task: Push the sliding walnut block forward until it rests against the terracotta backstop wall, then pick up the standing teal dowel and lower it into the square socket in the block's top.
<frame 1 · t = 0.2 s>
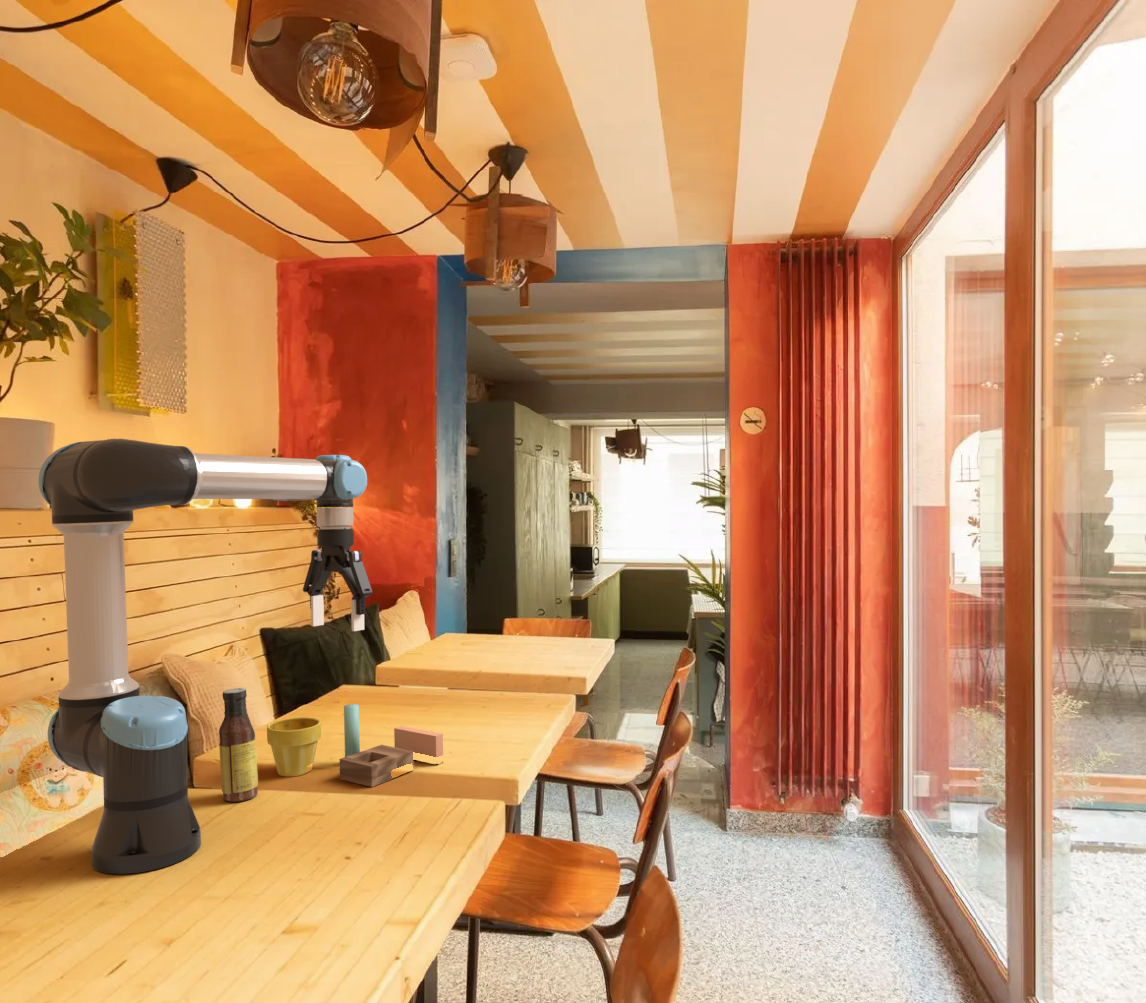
hand: (337, 628, 177), 27 cm above the table, fingers open, 13 cm apart
block: (376, 765, 165), point 2 cm above the table, slide at 0.0 cm
wall: (418, 759, 174), on the table
plant pot: (295, 772, 168), on the table
sauce bottle: (239, 798, 154), on the table
dowel: (352, 763, 172), on the table
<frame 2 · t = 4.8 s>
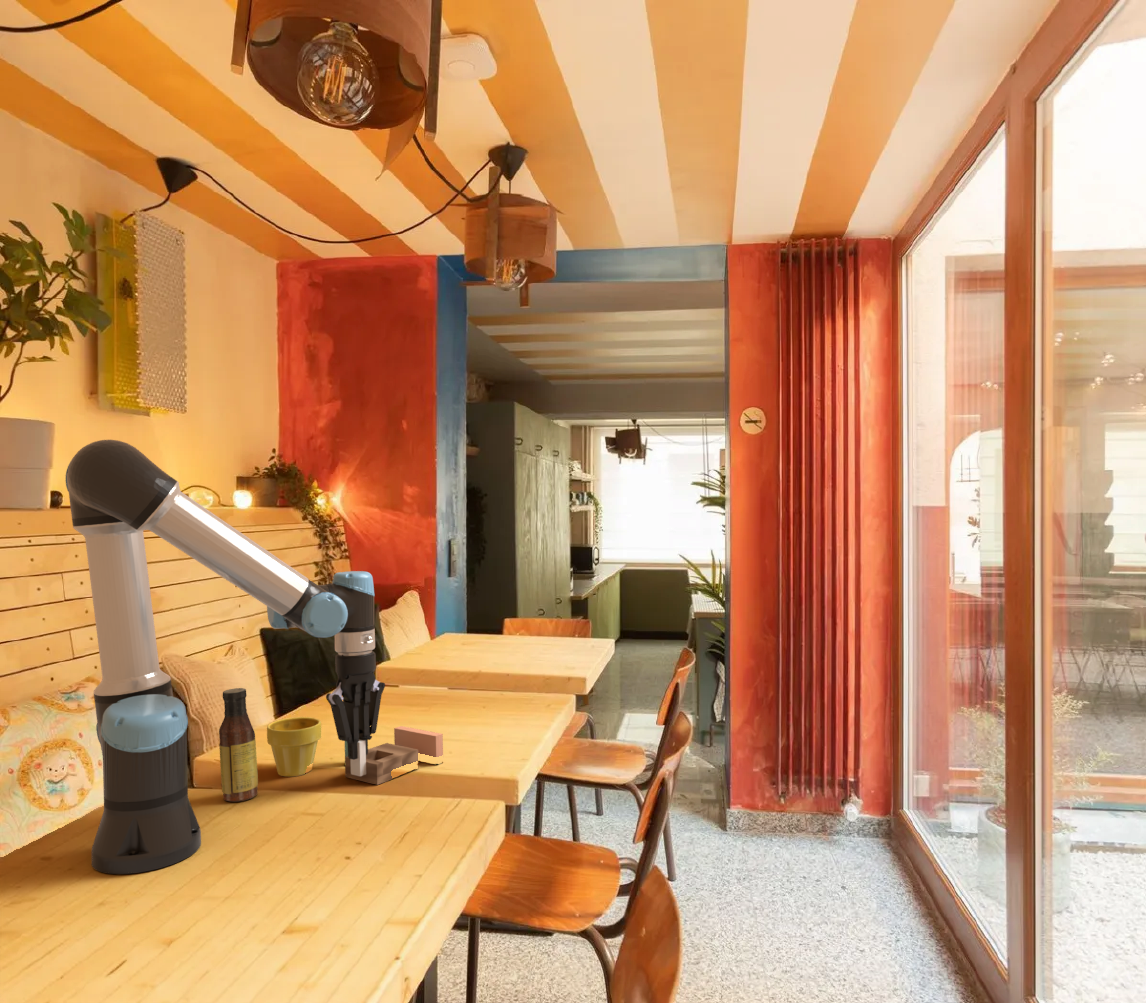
hand: (358, 774, 160), 2 cm above the table, fingers closed
block: (382, 763, 166), point 2 cm above the table, slide at 1.4 cm, touching gripper
everything else where it was.
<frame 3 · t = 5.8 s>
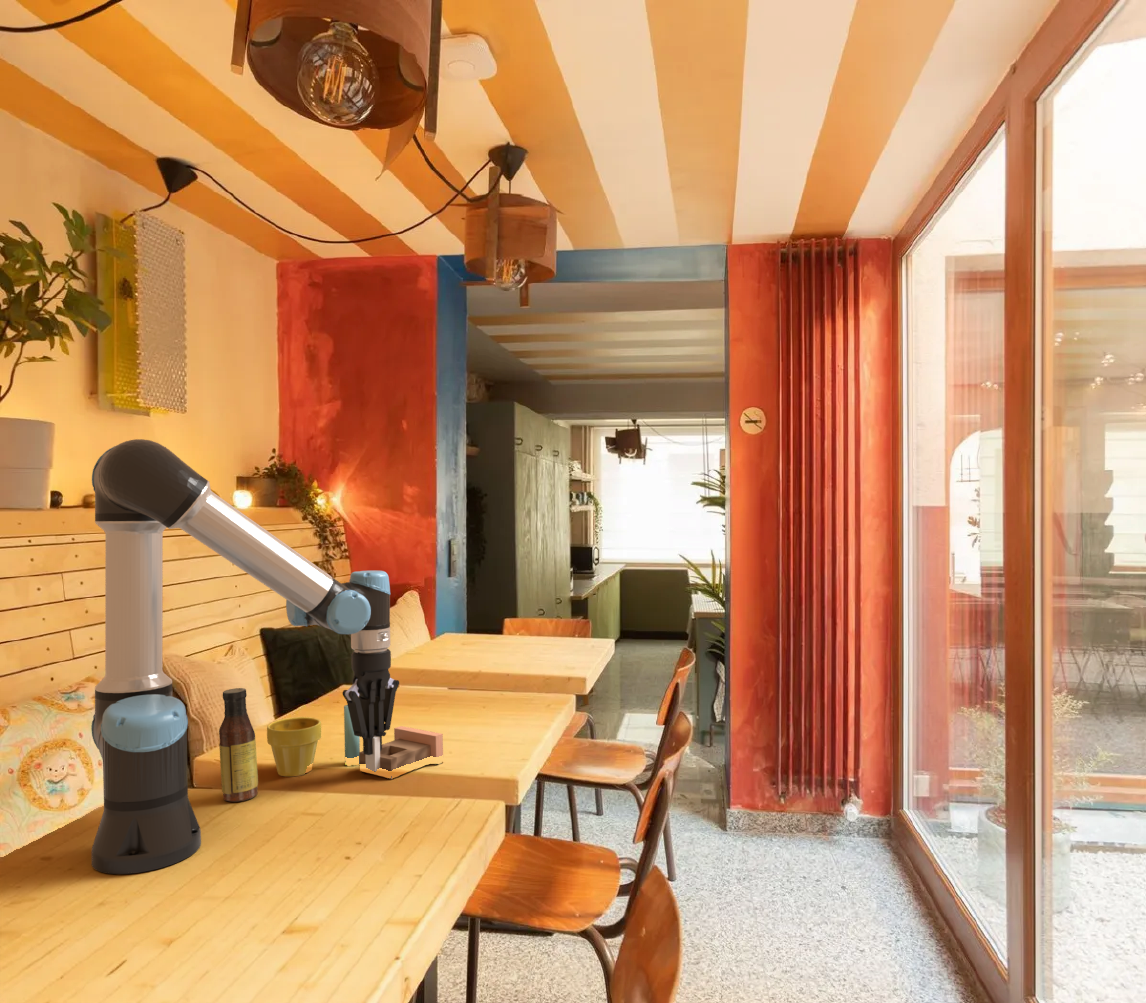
hand: (373, 769, 164), 1 cm above the table, fingers closed
block: (395, 758, 169), point 2 cm above the table, slide at 5.0 cm, touching gripper, wall
everything else where it was.
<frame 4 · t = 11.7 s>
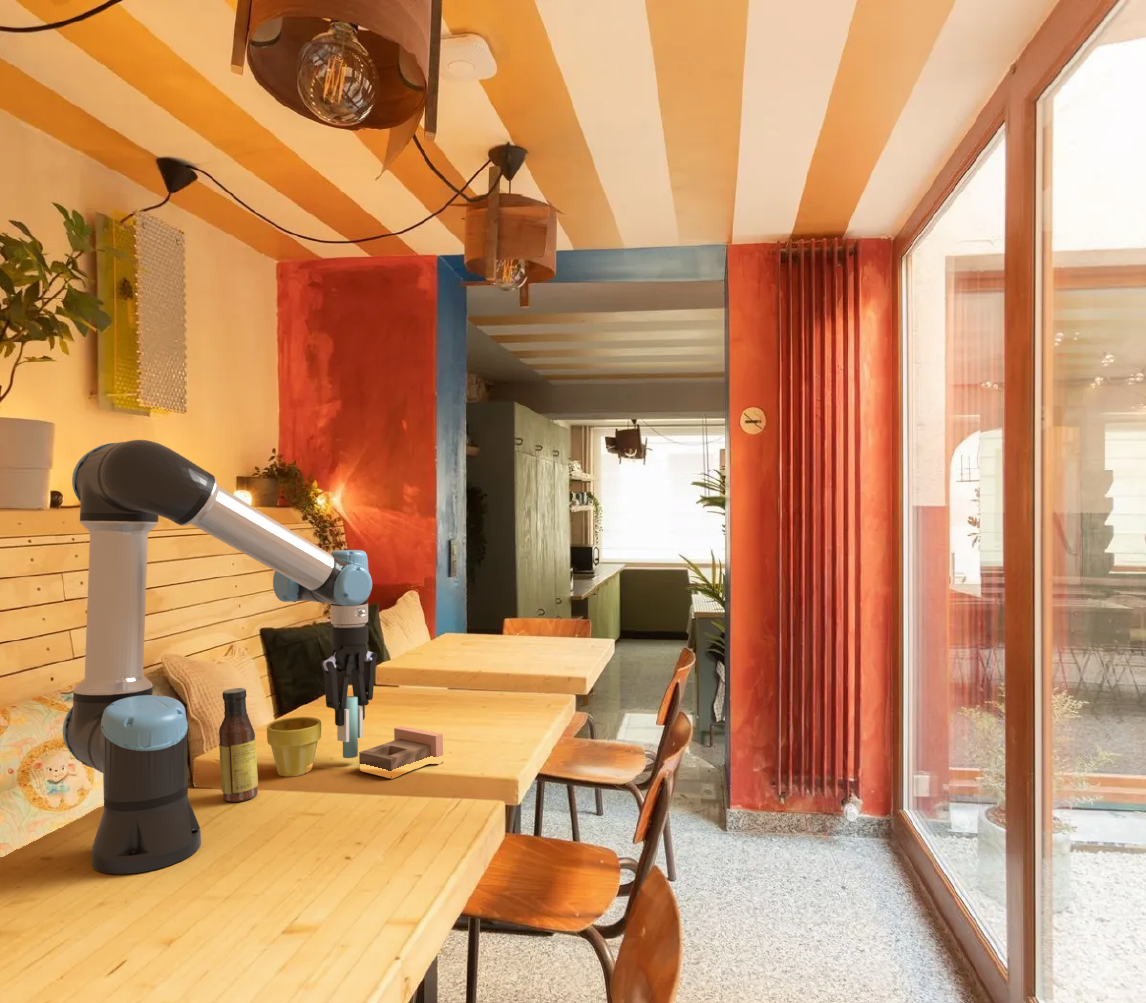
hand: (350, 738, 172), 5 cm above the table, fingers closed on dowel, 3 cm apart
block: (395, 758, 169), point 2 cm above the table, slide at 5.0 cm, touching wall
dowel: (350, 756, 172), point 2 cm above the table, touching gripper
everything else where it was.
when the fingers open (6 cm above the table, at t = 16.3 s): dowel stays where it is, resting on block.
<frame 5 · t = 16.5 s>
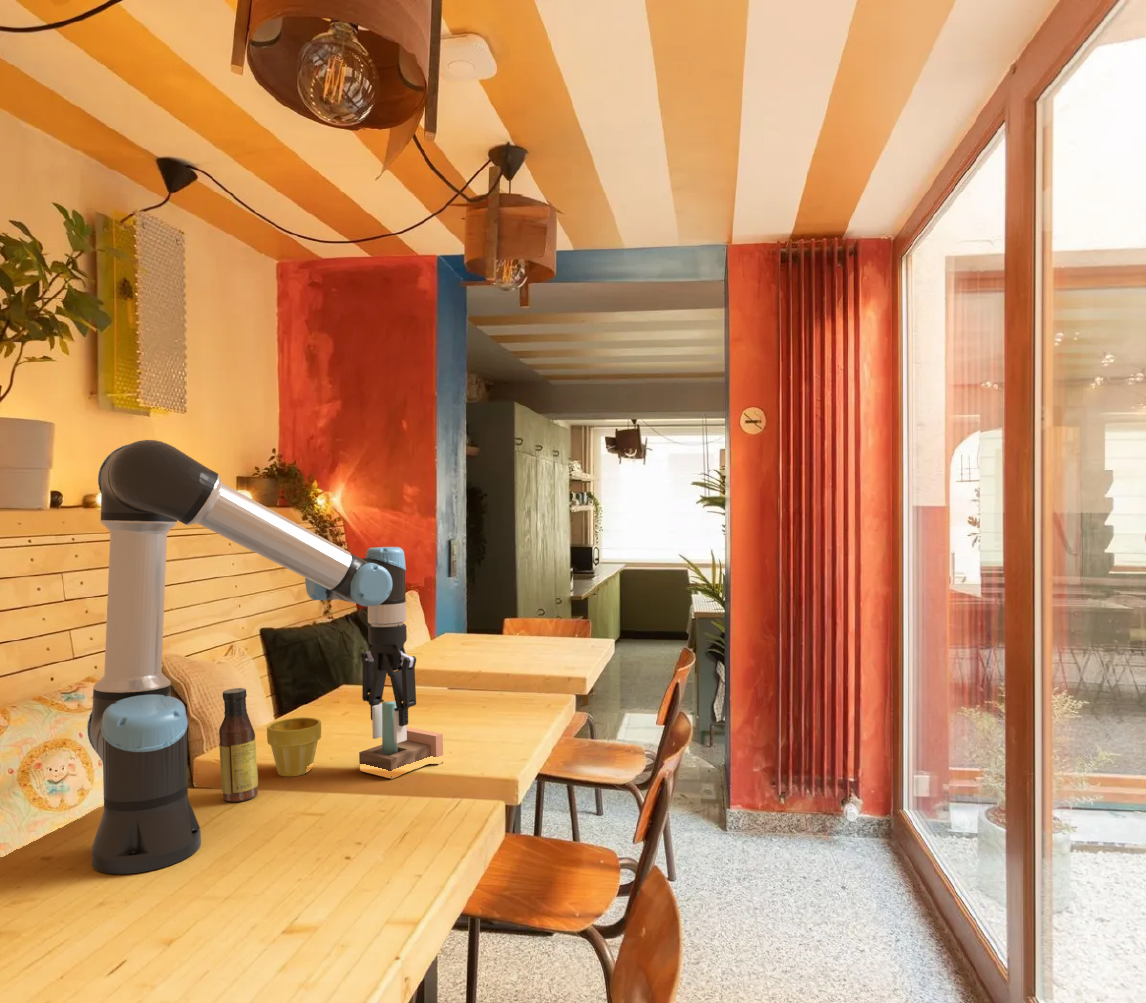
hand: (389, 739, 167), 6 cm above the table, fingers open, 5 cm apart
block: (395, 758, 169), point 2 cm above the table, slide at 5.0 cm, touching dowel, wall
dowel: (389, 762, 168), point 2 cm above the table, touching block
everything else where it was.
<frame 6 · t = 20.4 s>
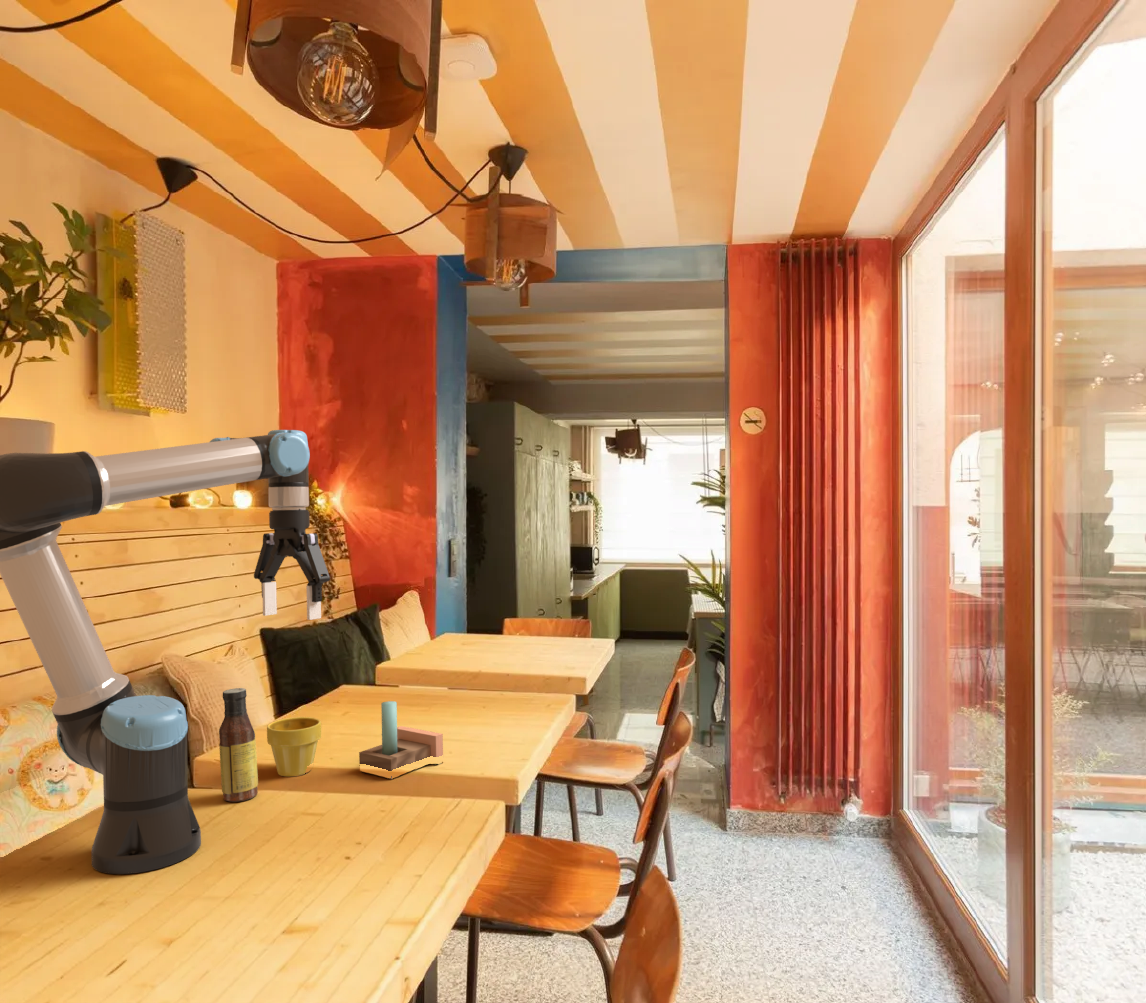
hand: (291, 617, 164), 32 cm above the table, fingers open, 13 cm apart
block: (395, 758, 169), point 2 cm above the table, slide at 5.0 cm, touching dowel
everything else where it was.
at the end: dowel 0.0 cm from the target spot on the block, point 1.5 cm above the block's base; dowel tilted 1°; block slide at 5.0 cm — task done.
